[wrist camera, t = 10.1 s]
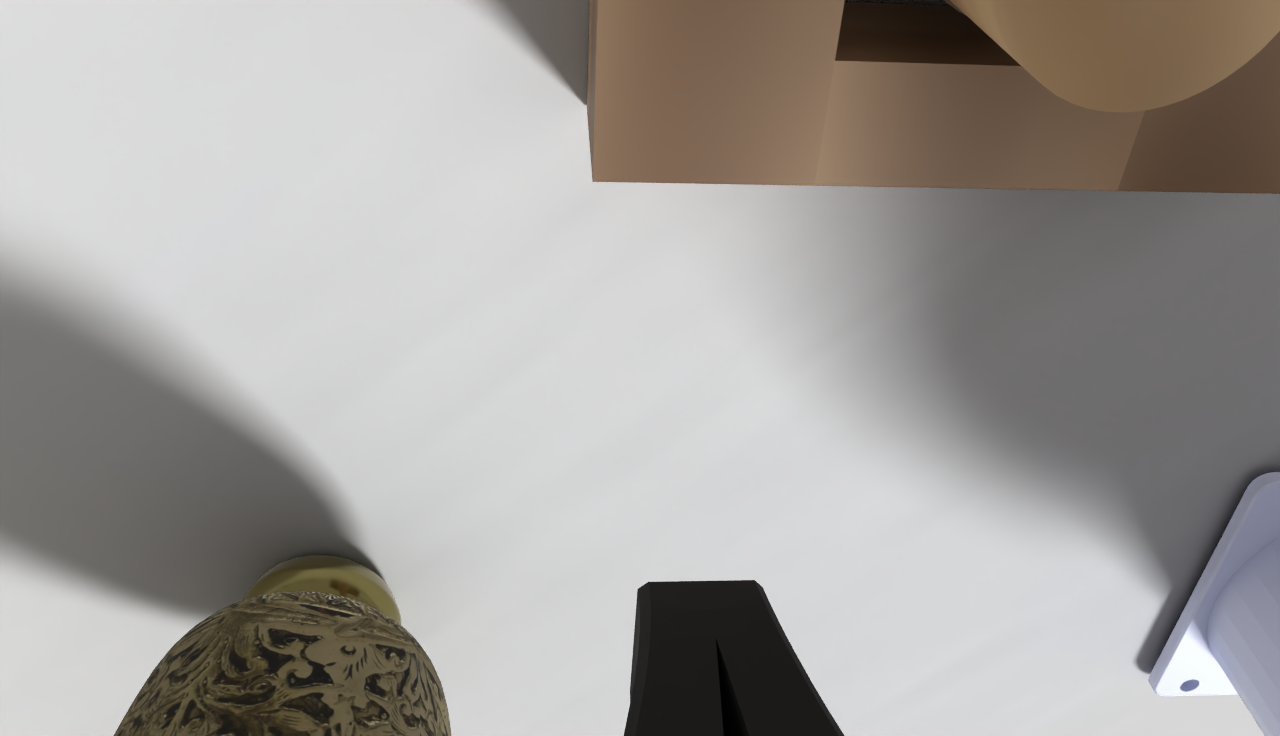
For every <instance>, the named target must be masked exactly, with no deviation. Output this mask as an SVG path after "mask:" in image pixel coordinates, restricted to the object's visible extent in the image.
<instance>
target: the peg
mask: <svg viewBox="0 0 1280 736" xmlns="http://www.w3.org/2000/svg"><path fill="white" fill-rule="evenodd" d="M944 1H945V2H947V3H948V4H949V5H951V6H952V7H953V8H955V9H956V10H957V11H959V12H961V13H963V14H964V15H966V16H967V17H969V18H970V19H971V20H972V21H973V22H974V23H975V24H976V25H977V26H978V27H979V28H981V29H982V30H983V31H984V32H985V33H986V34H987V35H988V36H989V37H990V38H992V39H993V40H994V41H995V42H996V43H997V44H998V45H999V46H1000V47H1001V48H1002V49H1004V50H1005V51H1006V52H1007V53H1008V54H1009V55H1010V56H1011V57H1012V58H1013V59H1014V60H1016V61H1017V62H1018V63H1019V64H1020V65H1021V66H1022V67H1023V68H1024V69H1025V70H1026V71H1028V72H1029V73H1030V74H1031V75H1032V76H1033V77H1034V78H1035V79H1036V80H1037V81H1038V82H1040V83H1041V84H1042V85H1043V86H1044V87H1046V88H1047V89H1048V90H1050V91H1051V92H1052V93H1054V94H1055V95H1056V96H1058V97H1060V98H1062V99H1064V100H1066V101H1068V102H1070V103H1072V104H1075V105H1078V106H1081V107H1084V108H1087V109H1092V110H1098V111H1104V112H1136V111H1145V110H1150V109H1154V108H1159V107H1163V106H1167V105H1170V104H1173V103H1176V102H1179V101H1182V100H1185V99H1187V98H1189V97H1191V96H1194V95H1196V94H1198V93H1200V92H1202V91H1204V90H1206V89H1208V88H1210V87H1211V86H1213V85H1215V84H1217V83H1218V82H1220V81H1222V80H1223V79H1225V78H1227V77H1228V76H1229V75H1231V74H1232V73H1233V72H1235V71H1236V70H1238V69H1239V68H1240V67H1242V66H1243V65H1245V64H1246V63H1247V62H1248V61H1249V60H1250V59H1251V58H1253V57H1254V56H1255V55H1256V54H1257V53H1258V52H1260V51H1261V50H1262V49H1263V48H1264V47H1265V46H1266V45H1267V44H1268V43H1269V42H1270V41H1271V40H1272V39H1273V38H1274V36H1275V35H1276V34H1277V33H1278V32H1279V31H1280V0H944Z"/></svg>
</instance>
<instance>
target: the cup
mask: <svg viewBox="0 0 1280 736" xmlns="http://www.w3.org/2000/svg"><path fill="white" fill-rule="evenodd" d="M114 736H451V729H450V721H449V714H448V709H447V704H446V700H445V696H444V692H443V688H442V685H441V682H440V680H439V677H438V675H437V673H436V671H435V668H434V666H433V664H432V662H431V660H430V659H429V657H428V656H427V654H426V653H425V651H424V650H423V648H422V647H421V646H420V644H419V643H418V642H417V641H416V639H415V638H414V637H413V636H412V635H411V634H410V633H409V632H408V631H407V630H406V629H404V628H403V627H402V626H401V617H400V612H399V609H398V606H397V603H396V600H395V598H394V596H393V594H392V592H391V590H390V589H389V587H388V586H387V584H386V583H385V582H384V581H383V580H382V579H381V578H380V577H379V576H378V575H377V574H376V573H374V572H373V571H372V570H370V569H368V568H367V567H365V566H363V565H361V564H359V563H357V562H354V561H351V560H348V559H345V558H340V557H335V556H327V555H311V556H302V557H297V558H293V559H290V560H287V561H284V562H282V563H280V564H278V565H276V566H274V567H273V568H271V569H270V570H269V571H267V572H266V573H265V574H264V575H263V576H261V577H260V578H259V579H258V580H257V581H256V582H255V583H254V584H253V586H252V587H251V588H250V589H249V590H248V592H247V593H246V595H245V596H244V598H243V600H242V601H241V602H238V603H235V604H233V605H230V606H228V607H226V608H224V609H222V610H220V611H218V612H216V613H215V614H213V615H211V616H210V617H208V618H207V619H205V620H204V621H202V622H200V623H199V624H197V625H196V626H195V627H194V628H192V629H191V630H190V631H189V632H188V633H187V634H186V635H184V636H183V637H182V638H181V639H180V640H179V641H178V642H177V643H176V644H175V645H174V646H173V647H172V648H171V649H170V650H169V651H168V653H167V654H166V655H165V656H164V658H163V659H162V660H161V661H160V663H159V664H158V665H157V666H156V668H155V669H154V670H153V672H152V673H151V675H150V676H149V678H148V679H147V681H146V683H145V684H144V686H143V687H142V689H141V690H140V692H139V693H138V695H137V696H136V698H135V700H134V701H133V703H132V705H131V706H130V708H129V710H128V712H127V713H126V715H125V717H124V718H123V720H122V722H121V724H120V725H119V727H118V729H117V731H116V733H115V734H114Z"/></svg>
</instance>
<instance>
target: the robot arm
mask: <svg viewBox="0 0 1280 736" xmlns="http://www.w3.org/2000/svg"><path fill="white" fill-rule="evenodd" d="M1148 681H1149V683H1150V685H1151V687H1152V688H1153V690H1154V692H1155V693H1156V694H1158V695H1160V696H1197V695H1234V694H1238V695H1239V696H1240V698H1241V699H1242V701H1243V703H1244V704H1245V706H1246V707H1247V709H1248V710H1249V712H1250V713H1251V715H1252V717H1253V718H1254V720H1255V721H1256V723H1257V724H1258V726H1259V727H1260V729H1261V731H1262V732H1263V734H1264V735H1265V736H1280V472H1271V473H1265V474H1263V475H1260V476H1258V477H1257V478H1256V479H1254V480H1253V481H1252V482H1251V483H1250V484H1249V486H1248V487H1247V489H1246V491H1245V493H1244V495H1243V497H1242V499H1241V500H1240V502H1239V504H1238V506H1237V508H1236V510H1235V512H1234V514H1233V516H1232V518H1231V520H1230V522H1229V524H1228V526H1227V527H1226V529H1225V531H1224V533H1223V535H1222V537H1221V539H1220V541H1219V543H1218V545H1217V547H1216V549H1215V551H1214V552H1213V554H1212V556H1211V558H1210V560H1209V562H1208V564H1207V566H1206V568H1205V570H1204V572H1203V574H1202V576H1201V577H1200V579H1199V581H1198V583H1197V585H1196V587H1195V589H1194V591H1193V593H1192V595H1191V597H1190V599H1189V601H1188V603H1187V604H1186V606H1185V608H1184V610H1183V612H1182V614H1181V616H1180V618H1179V620H1178V622H1177V624H1176V626H1175V628H1174V629H1173V631H1172V633H1171V635H1170V637H1169V639H1168V641H1167V643H1166V645H1165V647H1164V649H1163V651H1162V653H1161V654H1160V656H1159V658H1158V660H1157V662H1156V664H1155V666H1154V668H1153V670H1152V672H1151V674H1150V676H1149V680H1148ZM624 736H844V734H843V733H842V731H841V730H840V728H839V726H838V725H837V723H836V722H835V720H834V719H833V717H832V715H831V714H830V712H829V711H828V709H827V707H826V706H825V704H824V702H823V701H822V699H821V697H820V696H819V694H818V692H817V691H816V689H815V687H814V685H813V684H812V682H811V680H810V678H809V677H808V675H807V673H806V671H805V670H804V668H803V666H802V664H801V662H800V661H799V659H798V657H797V655H796V654H795V652H794V650H793V648H792V646H791V644H790V642H789V640H788V639H787V637H786V635H785V633H784V631H783V629H782V627H781V625H780V623H779V621H778V619H777V617H776V615H775V613H774V611H773V609H772V607H771V605H770V603H769V601H768V598H767V596H766V594H765V592H764V589H763V587H761V586H760V585H759V584H758V583H757V582H756V581H755V580H741V581H680V582H648V583H646V584H645V585H643V586H642V587H640V588H639V589H638V592H637V606H636V619H635V633H634V646H633V659H632V673H631V686H630V707H629V712H628V717H627V722H626V727H625V732H624Z"/></svg>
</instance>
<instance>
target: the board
mask: <svg viewBox="0 0 1280 736" xmlns="http://www.w3.org/2000/svg"><path fill="white" fill-rule="evenodd" d="M587 115H588V128H589V140H590V153H591V166H592V179H593V182H644V183H701V184H758V185H815V186H872V187H929V188H986V189H1043V190H1100V191H1157V192H1214V193H1271V194H1280V31H1279V32H1278V33H1277V34H1276V35H1275V36H1274V38H1273V39H1272V40H1271V41H1270V42H1269V43H1268V44H1267V45H1266V46H1265V47H1264V48H1263V49H1262V50H1261V51H1260V52H1258V53H1257V54H1256V55H1255V56H1254V57H1253V58H1251V59H1250V60H1249V61H1248V62H1247V63H1246V64H1245V65H1243V66H1242V67H1240V68H1239V69H1238V70H1236V71H1235V72H1233V73H1232V74H1231V75H1229V76H1228V77H1227V78H1225V79H1223V80H1222V81H1220V82H1218V83H1217V84H1215V85H1213V86H1211V87H1210V88H1208V89H1206V90H1204V91H1202V92H1200V93H1198V94H1196V95H1194V96H1191V97H1189V98H1187V99H1185V100H1182V101H1179V102H1176V103H1173V104H1170V105H1167V106H1163V107H1159V108H1154V109H1150V110H1145V111H1136V112H1104V111H1098V110H1092V109H1087V108H1084V107H1081V106H1078V105H1075V104H1072V103H1070V102H1068V101H1066V100H1064V99H1062V98H1060V97H1058V96H1056V95H1055V94H1054V93H1052V92H1051V91H1050V90H1048V89H1047V88H1046V87H1044V86H1043V85H1042V84H1041V83H1040V82H1038V81H1037V80H1036V79H1035V78H1034V77H1033V76H1032V75H1031V74H1030V73H1029V72H1028V71H1026V70H1025V69H1024V68H1023V67H1022V66H1021V65H1020V64H1019V63H1018V62H1017V61H1016V60H1014V59H1013V58H1012V57H1011V56H1010V55H1009V54H1008V53H1007V52H1006V51H1005V50H1004V49H1002V48H1001V47H1000V46H999V45H998V44H997V43H996V42H995V41H994V40H993V39H992V38H990V37H989V36H988V35H987V34H986V33H985V32H984V31H983V30H982V29H981V28H979V27H978V26H977V25H976V24H975V23H974V22H973V21H972V20H971V19H970V18H969V17H967V16H966V15H964V14H963V13H961V12H959V11H957V10H956V9H955V8H953V7H952V6H951V5H921V4H891V3H861V2H845V0H590V5H589V46H588V87H587Z"/></svg>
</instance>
